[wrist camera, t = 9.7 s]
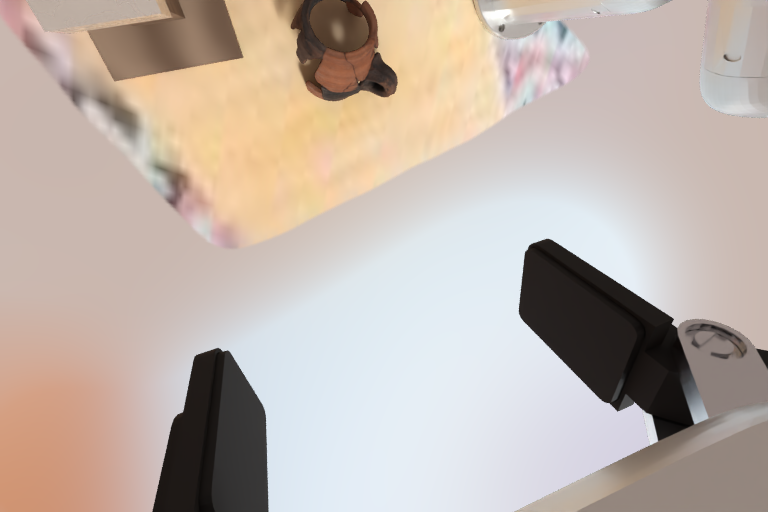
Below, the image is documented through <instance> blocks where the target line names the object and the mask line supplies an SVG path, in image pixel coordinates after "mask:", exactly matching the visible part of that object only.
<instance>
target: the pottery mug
mask: <svg viewBox="0 0 768 512" xmlns="http://www.w3.org/2000/svg"><path fill="white" fill-rule="evenodd" d="M320 1H322V0H304V2H303V4H302V5H301V7H300V8H299V10H298V12H297V14H296V16H295V18H294V19H293V22H292V24H291V29H295V28H297V29H301V31H300V33H299V35H298V39H297V47H298V48H297V51H296V54H297V56H298V58H299V60H300V62H301V63H302V64H304V63H305V62H306V61H307V59H308V60H310V59H322V60H321V62H320V64H319V67H318V69H317V70H316V72H315V74H314V75H315V79H316V81H317V82H318V83H320V84H321V85H322V86H321V88H322V90H321V89H320V88H318V87H317V86H315V85H314V84H313V83H312V82H310V81H307V82H306V86H307V89H308V90H309V91H310V92H311V93H312V94H314V95H315V96H317V97H319V98H321V99H324V100H328V101H339V100H343V99H345V98H347V97H348V96H351V95H353V94H355V93H358V92H359V91H360V90H365V91H370V92H372V93H374V94H376V95H378V96H381V97H389V96H390V95H392V94H394V93H395V91H396V86H397V83H398V82H397V76H396V74H395V72H394V71H393V70H392V69H391V68H390V67H389V66H388V65H386V64H385V63H384V62H383V60H382V58H381V55H380V53H378V52H377V53H375V51H374V47H375V48H378V37H377V30H378V29H377V28H378V26H377V20H376V16H375V14H374V11H373V9H372V8H371V6H370V5H369V3H368V2H367V1H364V2H363V3H362V5H361V4H360V3H359V2H358V1H357V0H341V1H343V2H345V3H346V6H347V8H348V11H349V12H350V13H352V14H354V15H356V16H358V17H362V16H363V15H364V17H365V18H366V21H367V23H368V27H369V35H368V39H367V41H366V43H365V44H364V45H363V46H362V47H360V48H359V49H357V50H354V51H351V52H340V51H336V50H333V49H331V48H329V47H326V46H325V45H324V44H323V43H321V42H320V41H319V40H318V38H317V37H316V36H315V34H314V32H313V30H312V28H311V25H310V21H309V17H310V12H311V10H312V8H313V7H314V6H315V5H316V4H317V3H318V2H320ZM374 53H375V54H374ZM358 81H360V83H359V84H358Z"/></svg>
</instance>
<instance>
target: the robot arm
mask: <svg viewBox="0 0 768 512" xmlns="http://www.w3.org/2000/svg"><path fill="white" fill-rule="evenodd" d="M473 1H474V5H475V9H476V12H477V14H478V16H479V19H480V21H481V22H482V24H483V25H484V26H485V28H486V29H487V30H488V31H489V32H491V33H492V34H493V35H495V36H497V37H499V38H502V39H507V40H510V39H520V38H525V37H527V36H529V35H531V34H533V33H534V32H536V31H537V30H539V29H540V28H541V27H542V26H543V25H544V24H545V23H546V22H548V21H559V20H569V19H581V18H591V17H602V16H612V15H624V14H634V13H641V12H646V11H649V10H652V9H655V8H658V7H660V6H662V5H664V4H666V3H668V2H670V1H671V0H473ZM700 91H701V95H702V97H703V99H704V101H705V102H706V103H707V104H708V105H709V106H710V107H711V108H712V109H714V110H716V111H718V112H721V113H724V114H727V115H732V116H739V117H751V118H756V117H757V118H768V0H708V8H707V16H706V24H705V33H704V42H703V50H702V58H701V67H700ZM519 314H520V317H521V318H522V320H523V321H524V322H525V323H526V324H527V325H528V326H529V327H530V328H531V329H532V330H533V331H534V332H535V333H536V334H537V335H538V336H539V337H540V338H541V339H542V340H543V341H544V342H545V343H546V344H547V345H548V346H549V347H550V348H551V350H553V351H554V353H555V354H556V355H557V356H558V357H559V358H560V359H562V360H563V362H564V363H565V364H566V365H567V366H568V367H569V368H571V370H572V371H573V372H574V373H575V374H576V375H577V376H578V377H579V378H580V379H581V380H582V381H583V382H584V383H585V384H586V385H587V386H588V387H589V388H590V389H591V390H592V391H593V392H594V393H595V394H596V395H597V396H598V397H599V398H600V399H601V400H602V401H604V402H606V403H610V404H611V405H612V406H613V407H614V408H615V409H616V410H617V411H620V410H622V409H625V408H627V407H629V406H631V405H633V404H634V402H635V403H636V404H637V405H638V406H639V407H640V408H641V409H642V411H643V416H644V421H645V425H646V430H647V434H648V439H649V444H650V446H648V447H646V448H644V449H642V450H640V451H637V452H635V453H633V454H631V455H629V456H627V457H625V458H623V459H621V460H619V461H617V462H615V463H613V464H611V465H609V466H607V467H605V468H603V469H601V470H599V471H596V472H594V473H592V474H590V475H588V476H586V477H584V478H582V479H580V480H578V481H576V482H574V483H572V484H570V485H568V486H566V487H564V488H562V489H560V490H558V491H556V492H553V493H552V494H549V495H548V496H545V497H543V498H542V499H540V500H537V501H535V502H533V503H531V504H529V505H527V506H525V507H523V508H521V509H519V510H517V511H515V512H768V351H766V350H761V349H756V348H755V346H754V345H753V344H752V343H751V342H750V340H749V339H748V338H746V337H745V336H744V335H742V334H741V333H740V332H738V331H736V330H734V329H732V328H731V327H729V326H726V325H723V324H721V323H718V322H714V321H709V320H704V319H692V320H686V321H685V322H683V323H681V324H680V325H679V327H678V328H676V327H675V326H674V325H672V322H673V320H674V319H673V318H672V317H670V316H669V315H667V314H666V313H664V312H662V311H661V310H659V309H658V308H656V307H655V306H653V305H652V304H650V303H648V302H647V301H645V300H644V299H642V298H641V297H639V296H637V295H636V294H634V293H633V292H631V291H630V290H628V289H627V288H625V287H624V286H622V285H621V284H619V283H617V282H616V281H614V280H613V279H611V278H610V277H608V276H607V275H605V274H603V273H602V272H600V271H599V270H597V269H596V268H594V267H593V266H591V265H589V264H588V263H587V262H585V261H583V260H582V259H580V258H579V257H577V256H576V255H574V254H573V253H571V252H570V251H568V250H567V249H565V248H563V247H562V246H560V245H559V244H557V243H556V242H554V241H553V240H550V239H545V240H542V241H539V242H536V243H533V244H531V245H530V246H529V247H528V250H527V251H526V252H525V258H524V267H523V276H522V286H521V294H520V304H519ZM267 479H268V478H267V442H266V415H265V410H264V408H263V405H262V403H261V402H260V400H259V399H258V397H257V395H256V394H255V392H254V390H253V389H252V387H251V386H250V384H249V382H248V381H247V379H246V377H245V376H244V374H243V373H242V371H241V369H240V368H239V366H238V365H237V363H236V361H235V360H234V358H233V356H232V355H231V353H230V352H229V351H224V352H223V351H222V350H221V349H219V348H216V349H213V350H211V351H207V352H204V353H201V354H198V355H196V356H195V358H194V361H193V366H192V371H191V376H190V381H189V386H188V391H187V396H186V402H185V406H184V411H183V413H180V414H178V415H177V416H176V417H175V418H174V420H173V423H172V426H171V431H170V435H169V440H168V445H167V449H166V453H165V458H164V462H163V467H162V471H161V476H160V480H159V485H158V489H157V494H156V498H155V503H154V507H153V512H268V480H267Z"/></svg>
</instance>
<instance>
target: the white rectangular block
mask: <svg viewBox="0 0 768 512" xmlns="http://www.w3.org/2000/svg"><path fill="white" fill-rule="evenodd" d="M26 1H27V3H28V5H29V6H30V8H31V10H32V11H33V13H34V15H35V16H36V18H37V20H38V21H39V23H40V25H41V26H42V28H43V30H44V31H45V32H56V33H69V34H70V33H76V32H83V31H89V30H95V29H102V28H108V27H115V26H121V25H127V24H134V23H140V22H147V21H153V20H159V19H166V18H172V16H171V14H170V11H169V9H168V6H167V4H166V2H165V0H26Z"/></svg>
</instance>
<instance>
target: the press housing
mask: <svg viewBox="0 0 768 512" xmlns="http://www.w3.org/2000/svg"><path fill="white" fill-rule="evenodd" d="M165 2H166V4H167V6H168V9H169V11H170V14H171V16H172V18H166V19H159V20H153V21H147V22H140V23H134V24H127V25H121V26H115V27H108V28H102V29H95V30H89V31H88V33H89V35H90V37H91V39H92V41H93V42H94V44H95V46H96V48H97V50H98V52H99V53H100V55H101V57H102V59H103V61H104V63H105V65H106V66H107V68H108V70H109V72H110V74H111V76H112V78H113V79H114V81H119V80H124V79H130V78H135V77H141V76H146V75H151V74H157V73H162V72H168V71H173V70H179V69H184V68H190V67H195V66H200V65H206V64H211V63H217V62H222V61H228V60H233V59H239V58H243V55H242V52H241V49H240V46H239V43H238V40H237V37H236V34H235V31H234V28H233V25H232V22H231V19H230V16H229V13H228V10H227V7H226V4H225V1H224V0H165Z"/></svg>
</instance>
